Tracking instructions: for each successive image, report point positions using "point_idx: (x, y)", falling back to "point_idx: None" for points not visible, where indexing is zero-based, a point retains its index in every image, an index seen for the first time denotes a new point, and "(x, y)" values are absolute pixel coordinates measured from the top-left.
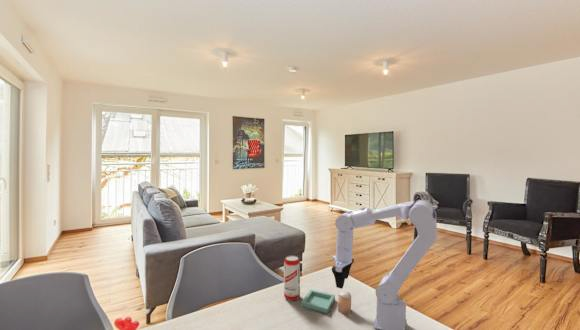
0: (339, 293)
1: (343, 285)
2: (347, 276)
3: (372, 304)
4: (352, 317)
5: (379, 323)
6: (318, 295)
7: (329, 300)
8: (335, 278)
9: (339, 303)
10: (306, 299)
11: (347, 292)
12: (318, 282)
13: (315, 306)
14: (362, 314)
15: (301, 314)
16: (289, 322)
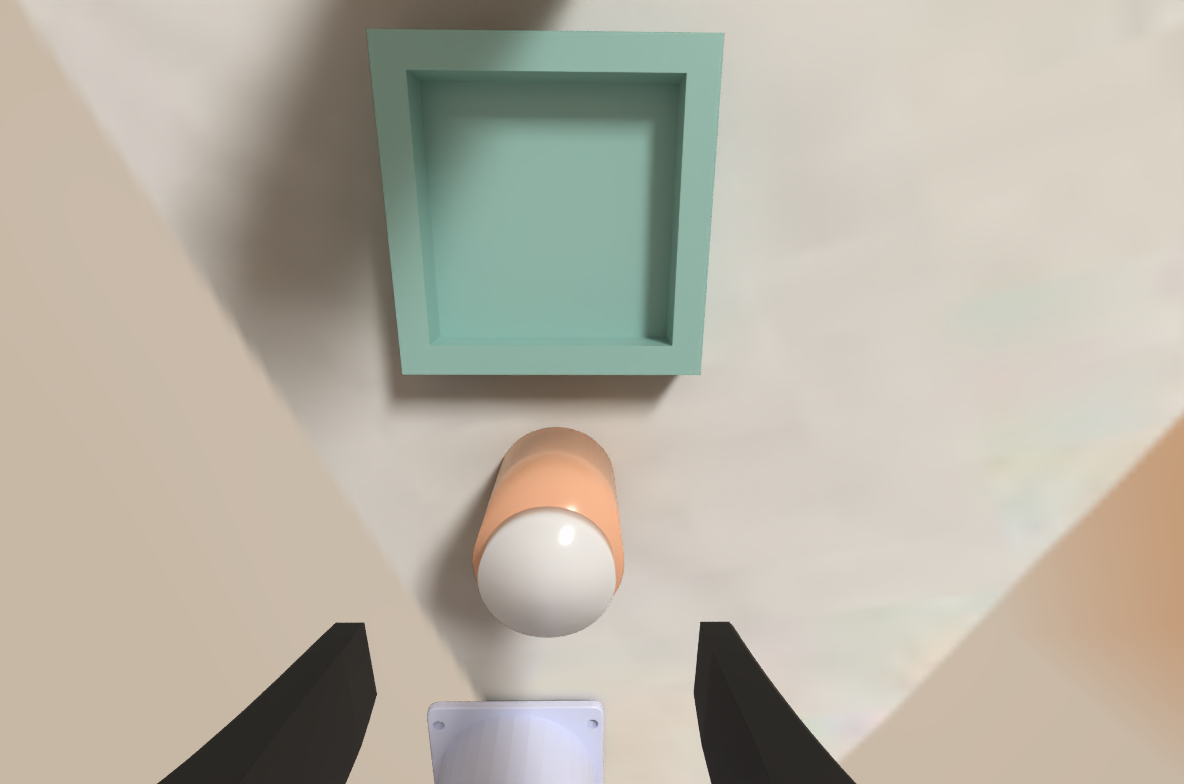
0: (520, 527)
1: (354, 746)
2: (703, 736)
3: None
4: None
5: (452, 753)
6: (676, 175)
7: (567, 349)
8: (171, 781)
9: (501, 483)
10: (467, 70)
11: (588, 601)
12: (1039, 50)
13: (390, 234)
14: None
15: (277, 105)
16: (75, 29)
